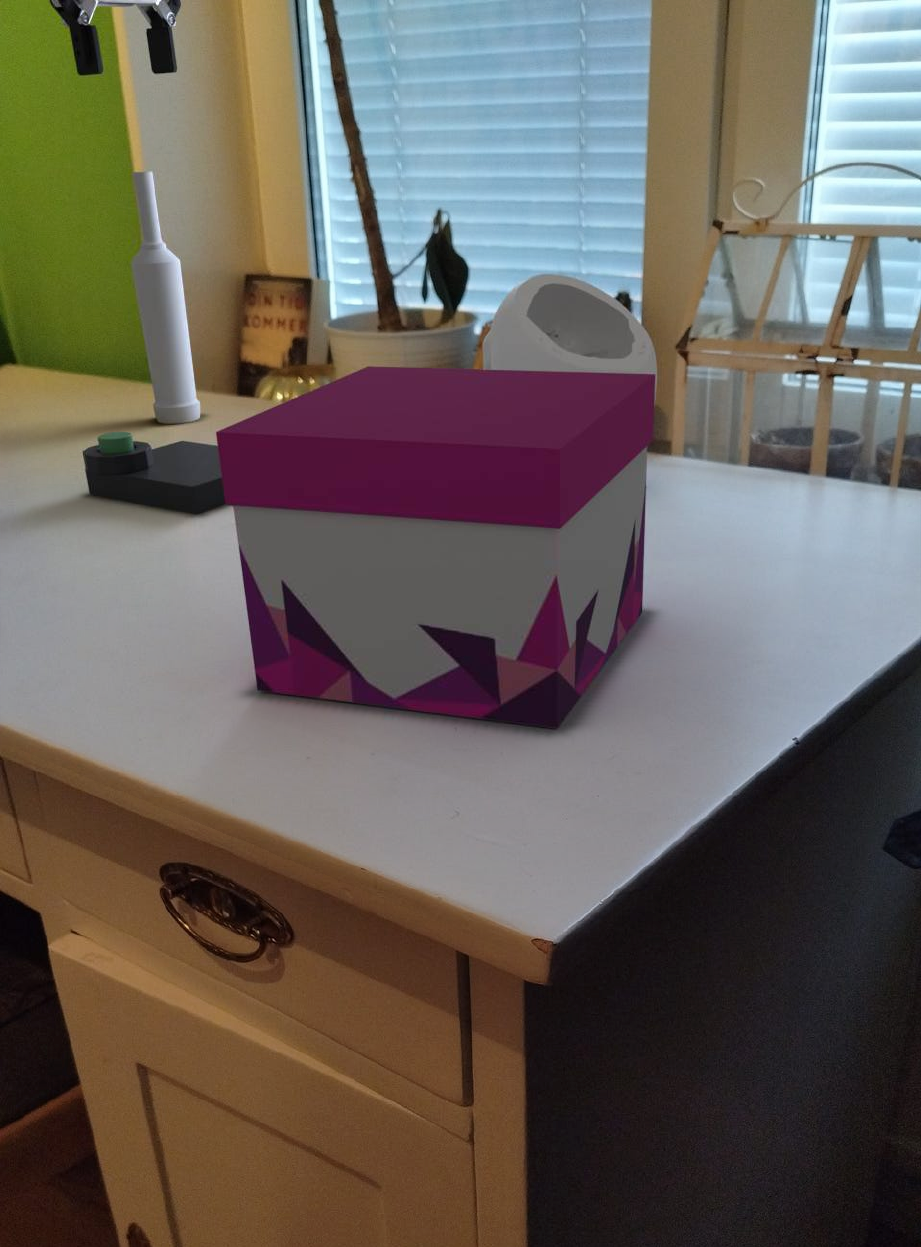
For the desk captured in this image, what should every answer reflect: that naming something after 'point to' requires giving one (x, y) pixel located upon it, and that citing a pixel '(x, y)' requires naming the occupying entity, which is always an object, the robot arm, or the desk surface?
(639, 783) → the desk surface
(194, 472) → the black push button box
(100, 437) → the button
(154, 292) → the bottle
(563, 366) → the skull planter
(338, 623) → the decorative box
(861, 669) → the desk surface
